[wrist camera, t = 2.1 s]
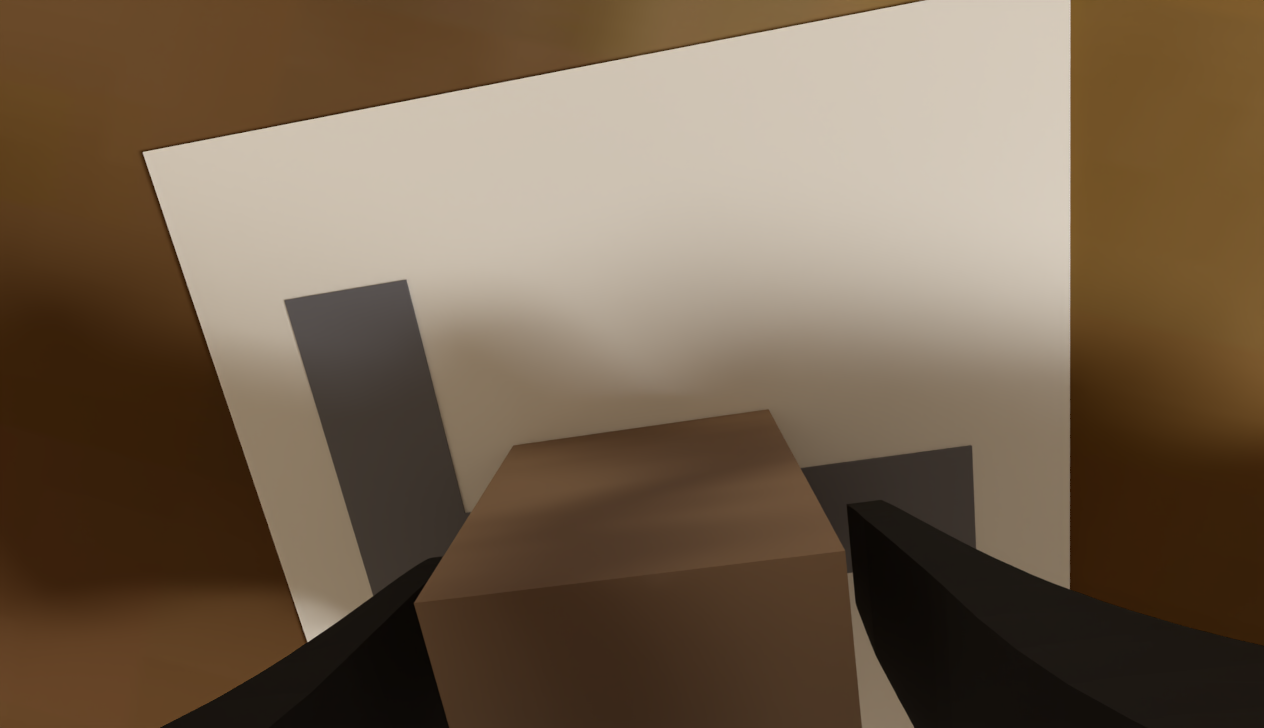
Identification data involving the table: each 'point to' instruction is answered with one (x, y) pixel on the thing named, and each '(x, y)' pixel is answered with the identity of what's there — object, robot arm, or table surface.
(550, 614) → the wooden cube
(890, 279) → the board
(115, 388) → the table surface
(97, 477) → the table surface
